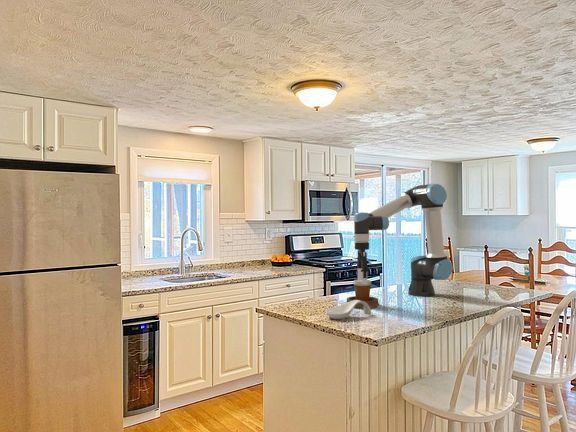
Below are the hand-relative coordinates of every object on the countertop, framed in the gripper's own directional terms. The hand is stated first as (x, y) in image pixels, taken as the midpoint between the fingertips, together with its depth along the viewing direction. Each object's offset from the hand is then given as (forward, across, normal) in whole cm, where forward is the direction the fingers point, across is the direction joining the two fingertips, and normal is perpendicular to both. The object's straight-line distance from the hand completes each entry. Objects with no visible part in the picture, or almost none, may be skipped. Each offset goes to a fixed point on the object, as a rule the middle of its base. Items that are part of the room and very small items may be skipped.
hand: (362, 282), depth 230 cm
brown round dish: (+12, 0, 0) cm, 12 cm away
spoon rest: (+12, +25, -11) cm, 30 cm away
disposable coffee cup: (+11, 0, 0) cm, 11 cm away
